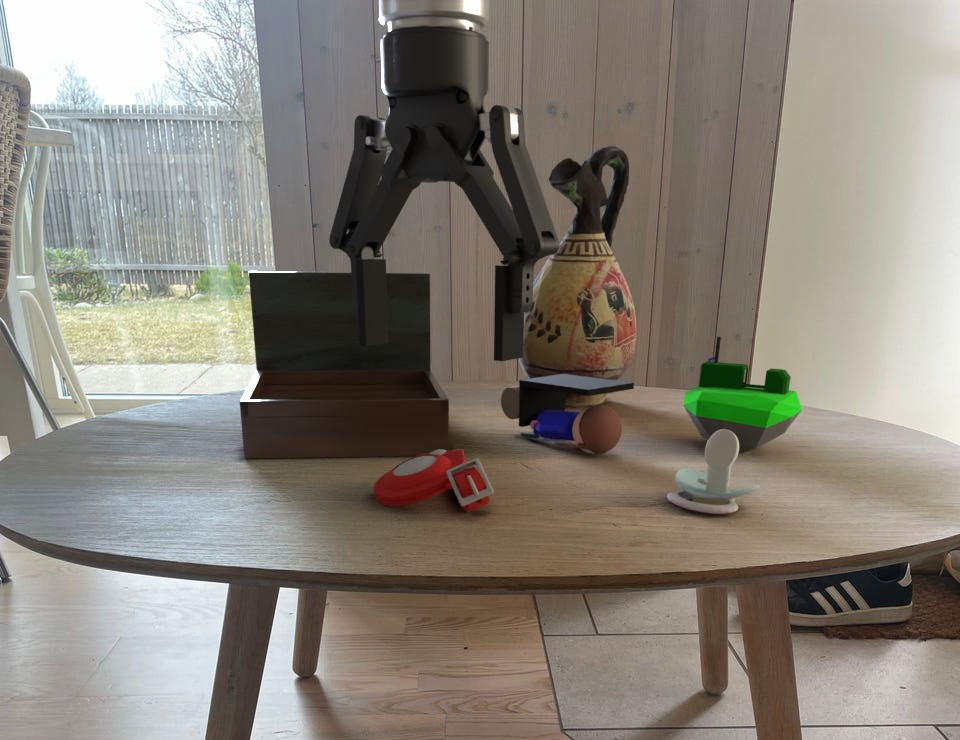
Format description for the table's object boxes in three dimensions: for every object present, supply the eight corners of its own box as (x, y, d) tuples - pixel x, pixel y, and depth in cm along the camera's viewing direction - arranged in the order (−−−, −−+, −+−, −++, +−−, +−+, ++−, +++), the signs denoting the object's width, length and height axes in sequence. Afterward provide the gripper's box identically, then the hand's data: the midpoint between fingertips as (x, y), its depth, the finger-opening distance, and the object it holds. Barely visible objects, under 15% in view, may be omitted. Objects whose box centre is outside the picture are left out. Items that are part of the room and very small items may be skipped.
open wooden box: (448, 455, 93) (449, 285, 86) (244, 458, 90) (228, 283, 83) (430, 415, 112) (429, 273, 105) (261, 416, 109) (249, 271, 102)
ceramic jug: (577, 416, 112) (593, 137, 100) (490, 398, 123) (495, 143, 110) (662, 401, 123) (687, 147, 110) (576, 386, 133) (590, 152, 121)
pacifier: (722, 524, 73) (765, 509, 77) (730, 446, 70) (775, 434, 74) (650, 504, 78) (694, 490, 82) (655, 430, 75) (701, 419, 79)
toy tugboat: (666, 451, 96) (677, 341, 91) (697, 431, 105) (708, 330, 101) (784, 466, 91) (802, 349, 86) (805, 444, 100) (822, 338, 96)
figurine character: (497, 448, 102) (588, 460, 90) (494, 377, 100) (587, 380, 88) (544, 441, 106) (637, 452, 94) (542, 373, 103) (638, 375, 92)
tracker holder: (348, 491, 75) (403, 439, 82) (367, 538, 78) (419, 483, 85) (477, 476, 69) (524, 421, 77) (494, 527, 72) (538, 470, 79)
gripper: (620, 21, 60) (600, 360, 69) (343, 55, 73) (355, 335, 82) (558, 0, 54) (544, 372, 63) (270, 41, 68) (292, 343, 77)
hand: (437, 351), depth 73 cm, fingers open, 13 cm apart
